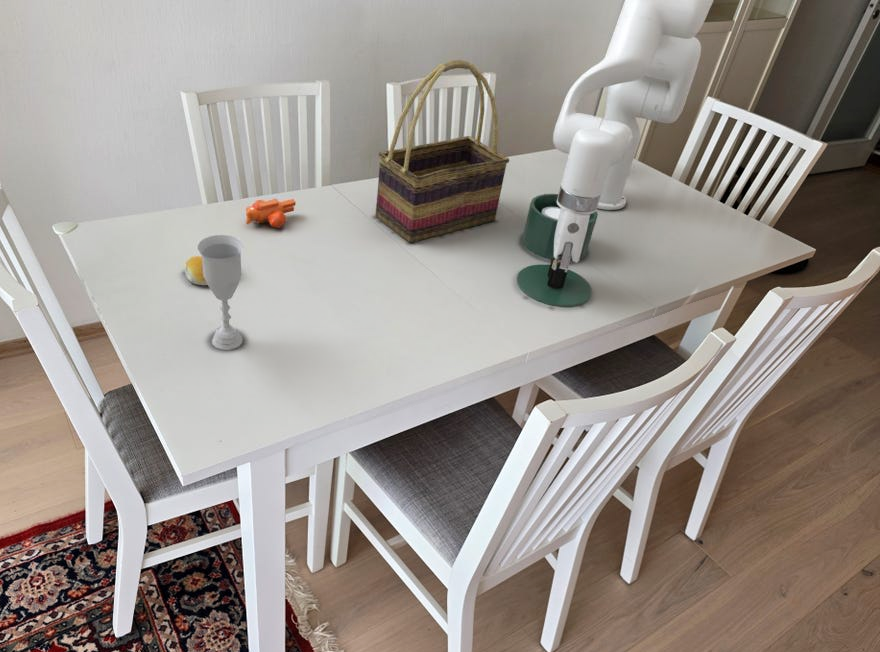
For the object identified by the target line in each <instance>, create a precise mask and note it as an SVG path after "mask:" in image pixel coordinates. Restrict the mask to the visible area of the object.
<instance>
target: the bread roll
mask: <svg viewBox="0 0 880 652" xmlns="http://www.w3.org/2000/svg"><path fill="white" fill-rule="evenodd" d="M183 273H184V275H185V276H186V278H187V280H188V281H189V282H190V283H191V284H194V285H197V286H198V285H199V286H208V284H207V282H206V280H205V278H204V275H203V264H202V256H200V255H199V256H197V255H196V256H191V257H190V258H189V259H188V260H187V261H185V266H184V272H183Z"/></svg>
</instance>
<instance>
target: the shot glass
mask: <svg viewBox="0 0 880 652" xmlns="http://www.w3.org/2000/svg"><path fill="white" fill-rule="evenodd" d="M560 211H561V208H558V207H546V208H543V210H542V212H541V213H542V214H544V215H545V216H547V217H550V218H552V219H555V220H558V218H559V214H560Z"/></svg>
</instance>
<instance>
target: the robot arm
mask: <svg viewBox="0 0 880 652" xmlns="http://www.w3.org/2000/svg"><path fill="white" fill-rule="evenodd" d="M713 3H714V0H624V2H623V5H622V7H621V10H620V13H619V16H618V18H617V22H616V24H615V27H614V29H613V33H612V36H611V39H610V42H609V45H608V47H607V50H606V53H605V56H604V58H603V59H602V60H601V61H599V62H598V63H597V64H595V65H593V66H592V67H590V68H589V69H588V70H587V71H585V72H584V73H582V75H580V77H579V78H577V80H576V81H575V82H574V83H573V84H572V85H571V87H570V89H569V90H568V92H567V93H566V96H565V98H564V100H563V103H562V106H561V109H560V112H559V115H558V117H557V121H556V123H555V126H554V130H553V134H552V143H553V146H554V148H555V149H556V150H558V151H559V152H561V153H564V154H568V155H567V156H568V157H567V160H566V165H565V168H564V172H563V176H562V179H561V184H560V187H559V191H558V193H557V194H558V198H557V205H558V206H559V207H560V208H561V211H560V214H559V218H558V222H557V226H556V231H555V237H554V255H553V259H552V260H550V264H549V265H550V267H549V271H548V277H549V279H548V282H547V286H549V287H554V288H560V289H562V288H563V286H564V283H565V279H566V276H567V272H568V271H567V270H569V267H570V263H571V261H570V260H571V256H572V260H573V261H572V262H573V263H576V264H577V263H579V262H580V260H581V259H580V255H581V251H582V247H583V243H584V239H585V235H586V231H587V227H588V223H589V218H590V214H592V213H594V212H596V211H597V210H598V209H599V210H607V211H615V210H616V211H617V210H620V209H622V208H624V207H625V206H626V204H627V198H626V197H625V196H624V195H623V193H624V189H625V186H626V183H627V180H628V178H629V174H630V171H631V168H632V164H633V161H634V158H635V155H636V152H637V149H638V146H639V143H640V139H641V129H640V126H639V123H638V121H637V119H644V120H648V121H652V122H656V123H661V124H672V123H674V122H675V121H677V120H678V118H679V117H680V116H681V114H682V113H683V110H684V107H685V105H686V102H687V99H688V97H689V96H688V95H689V93H690V91H691V87H692V84H693V81H694V79H695V75H696V72H697V69H698V66H699V62H700V59H701V54H702V45H701V42H700V40H699V38H697V37H695V36H696V35H697V34H698V33H699V32H700V30H701V28H702V27H703V25H704V23H705V21H706V18H707V16H708V14H709V11H710V9H711V7H712V5H713ZM604 88H608V90H607V97H606V105H605V112H604V117H600V116H596V115H593V114H587V113H582V112H578V110H579V107H580V105H581V104H582V102H583V101H584V100H585V99H586V98H587V96H589V95H591V94H593V93H594V92H596V91H599V90H601V89H604ZM554 260H555V262H554V266H553V268H552V264H553V261H554ZM558 260H561V262H558Z"/></svg>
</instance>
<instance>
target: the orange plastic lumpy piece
mask: <svg viewBox="0 0 880 652" xmlns="http://www.w3.org/2000/svg"><path fill="white" fill-rule="evenodd" d="M296 203H297V202H296V201H295V199H294V198H290V199H288V200H283V201H279V200H278V199H277V198H274V199H270V200H266V201H265V200H260V199H257V200H256V201H255V202H254V203H252V205H251V206H247V207H246V209H245V211H246V220H245V224H246V225H249V224H251V223H252V222H256V223H257V224H262V223H266V222H268V223H269V225H270V226H271V227H274V228H277V229H279V228H281V227H282V226H283V225H284V224H285V223H287V217H286V215H285V214H286V213H291V212H294V211H295V206H296Z"/></svg>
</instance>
